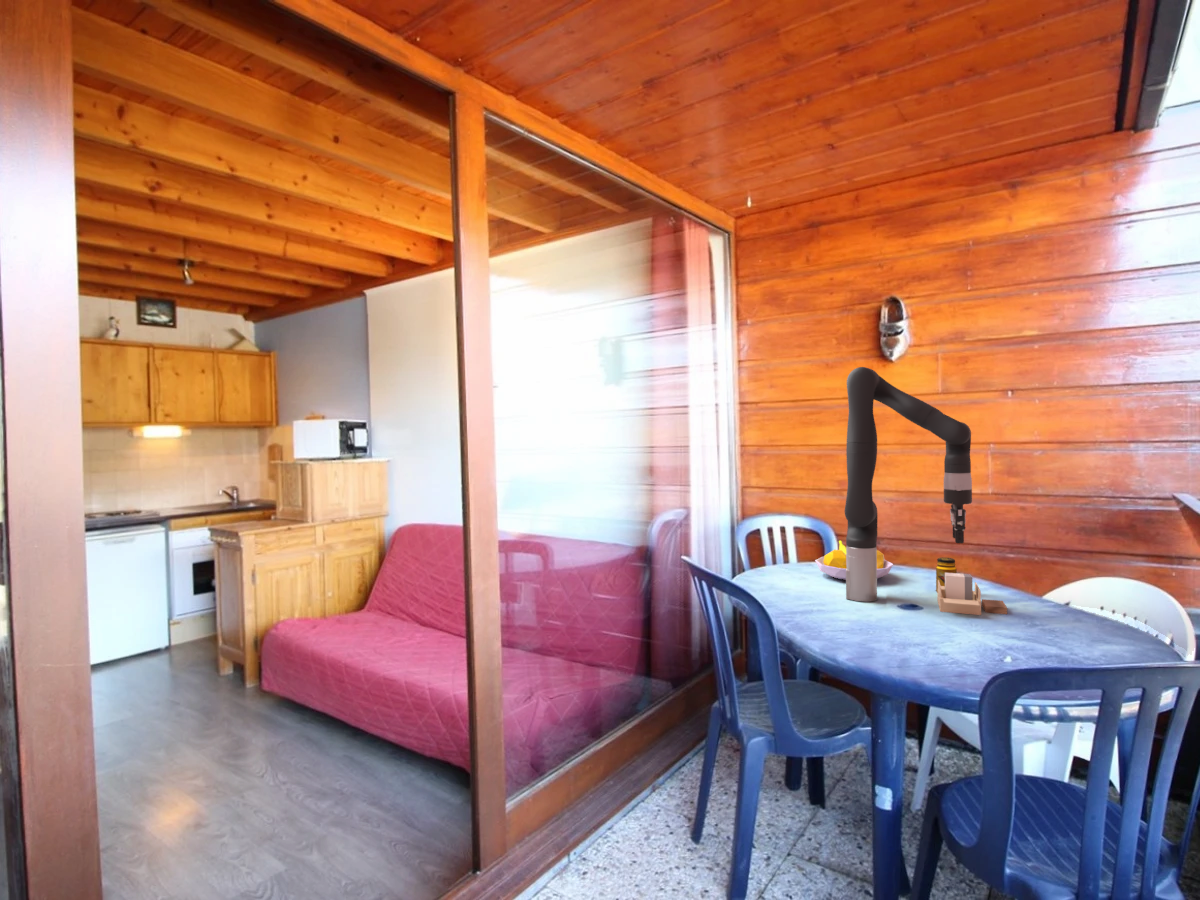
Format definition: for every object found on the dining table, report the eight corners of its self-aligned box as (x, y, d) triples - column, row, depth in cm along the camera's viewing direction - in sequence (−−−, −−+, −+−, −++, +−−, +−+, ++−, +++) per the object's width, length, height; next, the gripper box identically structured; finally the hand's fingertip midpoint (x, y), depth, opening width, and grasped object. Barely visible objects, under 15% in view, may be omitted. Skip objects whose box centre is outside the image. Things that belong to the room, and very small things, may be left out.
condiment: (947, 598, 210) (947, 561, 209) (925, 592, 218) (925, 557, 217) (963, 595, 213) (963, 559, 212) (941, 589, 220) (940, 554, 220)
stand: (985, 614, 191) (985, 605, 191) (981, 607, 199) (981, 599, 198) (1007, 616, 189) (1007, 607, 189) (1002, 608, 196) (1002, 600, 196)
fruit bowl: (895, 588, 224) (895, 555, 223) (813, 583, 233) (813, 552, 233) (890, 571, 250) (890, 541, 249) (816, 567, 260) (816, 539, 259)
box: (946, 608, 196) (945, 575, 196) (944, 604, 200) (944, 572, 200) (972, 610, 193) (972, 577, 193) (970, 606, 197) (970, 574, 197)
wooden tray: (941, 617, 190) (941, 591, 189) (936, 599, 208) (936, 576, 208) (982, 620, 185) (982, 594, 185) (974, 602, 204) (974, 578, 204)
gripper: (941, 485, 204) (942, 536, 204) (945, 489, 191) (946, 544, 191) (969, 485, 201) (969, 537, 201) (974, 490, 188) (975, 545, 188)
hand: (958, 540), depth 196 cm, fingers open, 8 cm apart
